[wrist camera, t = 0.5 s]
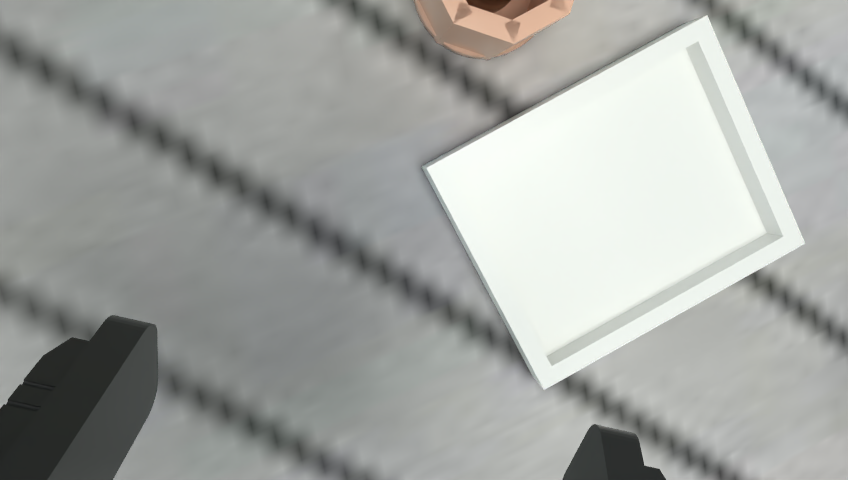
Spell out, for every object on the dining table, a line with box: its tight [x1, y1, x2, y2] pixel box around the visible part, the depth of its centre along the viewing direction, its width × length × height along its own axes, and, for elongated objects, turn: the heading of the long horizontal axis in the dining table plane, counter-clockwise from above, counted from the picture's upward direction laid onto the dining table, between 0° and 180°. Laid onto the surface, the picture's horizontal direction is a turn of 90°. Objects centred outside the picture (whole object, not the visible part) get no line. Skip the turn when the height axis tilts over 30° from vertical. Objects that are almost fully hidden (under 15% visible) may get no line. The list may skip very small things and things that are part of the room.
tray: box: [421, 15, 805, 390], centre depth 38 cm, size 14×17×2 cm
